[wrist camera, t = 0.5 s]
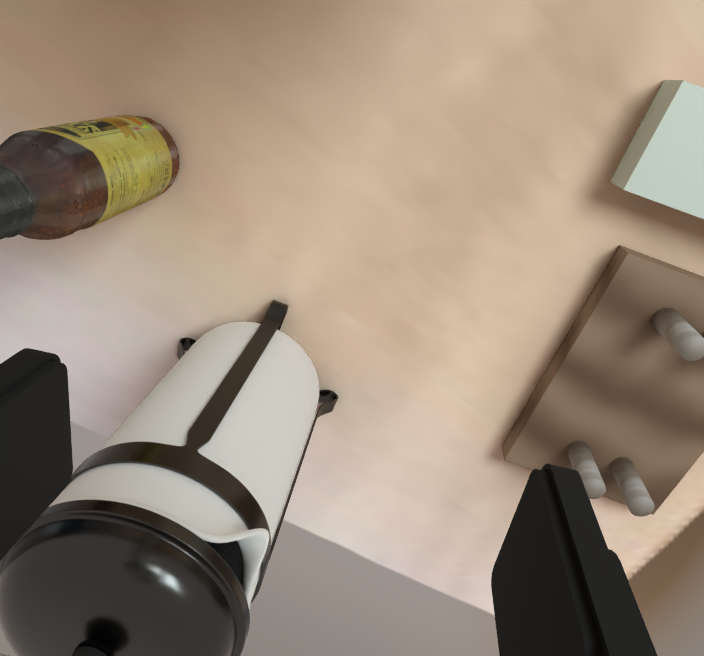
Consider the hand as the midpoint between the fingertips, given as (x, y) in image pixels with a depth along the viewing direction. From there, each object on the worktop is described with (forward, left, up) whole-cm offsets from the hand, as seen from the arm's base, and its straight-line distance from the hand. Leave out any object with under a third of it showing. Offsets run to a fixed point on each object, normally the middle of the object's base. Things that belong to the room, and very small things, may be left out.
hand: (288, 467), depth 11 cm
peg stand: (+9, +25, -34) cm, 43 cm away
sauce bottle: (+5, -19, -34) cm, 39 cm away
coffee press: (+21, -6, -34) cm, 41 cm away
